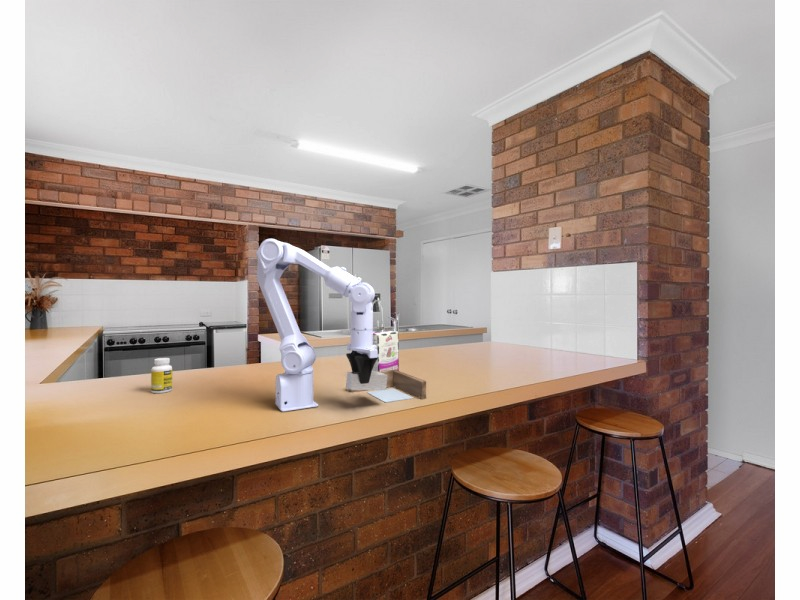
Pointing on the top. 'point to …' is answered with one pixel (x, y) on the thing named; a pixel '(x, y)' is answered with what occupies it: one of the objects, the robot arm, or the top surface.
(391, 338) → the candy bar box
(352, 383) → the grey speckled block
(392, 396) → the pad
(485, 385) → the top surface
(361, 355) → the robot arm
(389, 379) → the corner fence
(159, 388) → the supplement bottle
